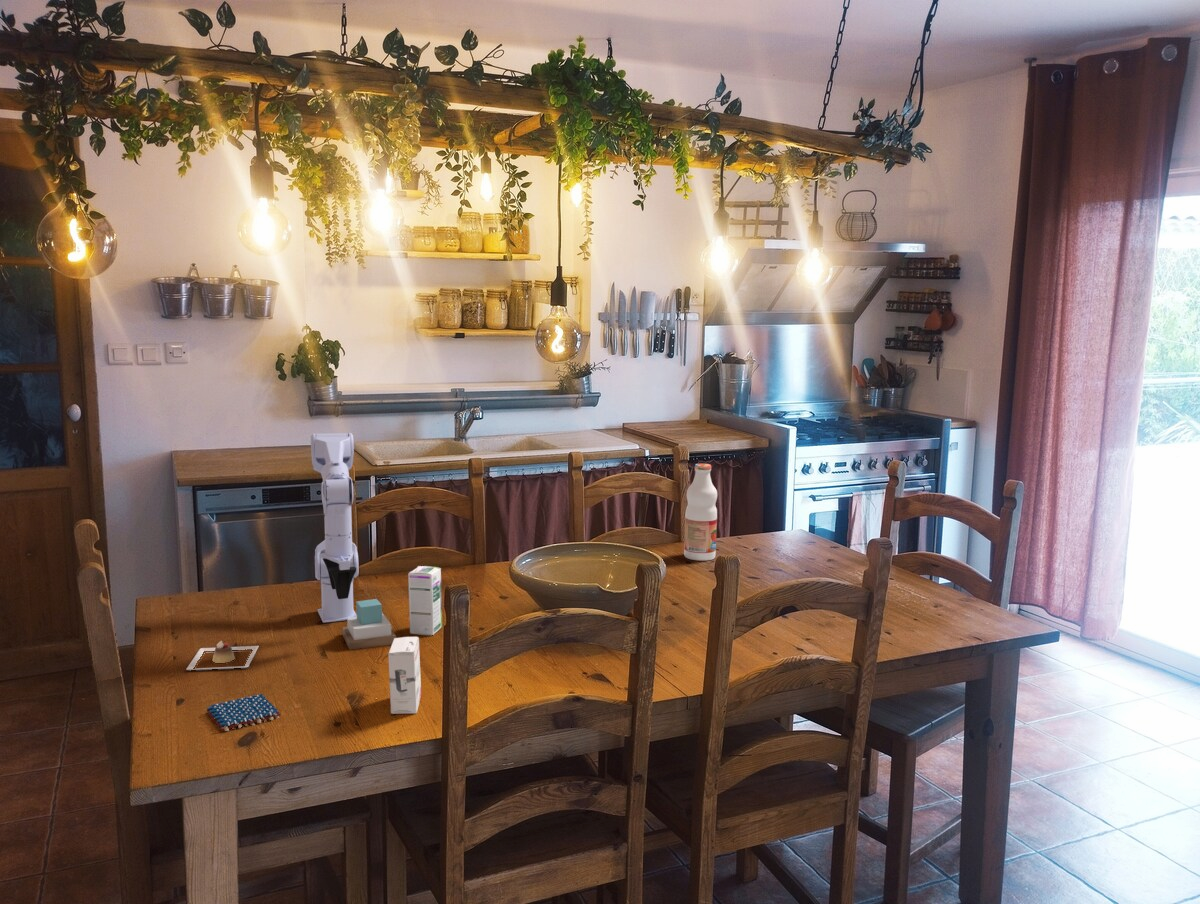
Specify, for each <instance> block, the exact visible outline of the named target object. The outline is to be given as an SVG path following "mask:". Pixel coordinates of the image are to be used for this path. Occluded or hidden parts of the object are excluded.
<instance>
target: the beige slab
mask: <svg viewBox="0 0 1200 904" xmlns="http://www.w3.org/2000/svg"><path fill="white" fill-rule="evenodd" d="M341 631H342V636H343V639H344V642H345V643H346V645H347V647H348V650H351V649H353V650H359V649H360V648H361V649H367V648H375V647H382V646H383V647H385V646H391V645H392V643H393V640H394V638H397V635H396V634H395V632H394V630H393V629H392V628H391V635H390V636H383V637H375V638H367V639H360V640H354V639H353V637H352V635H351V634H350V632H349V630H348V627H347V626H342V630H341Z"/></svg>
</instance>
